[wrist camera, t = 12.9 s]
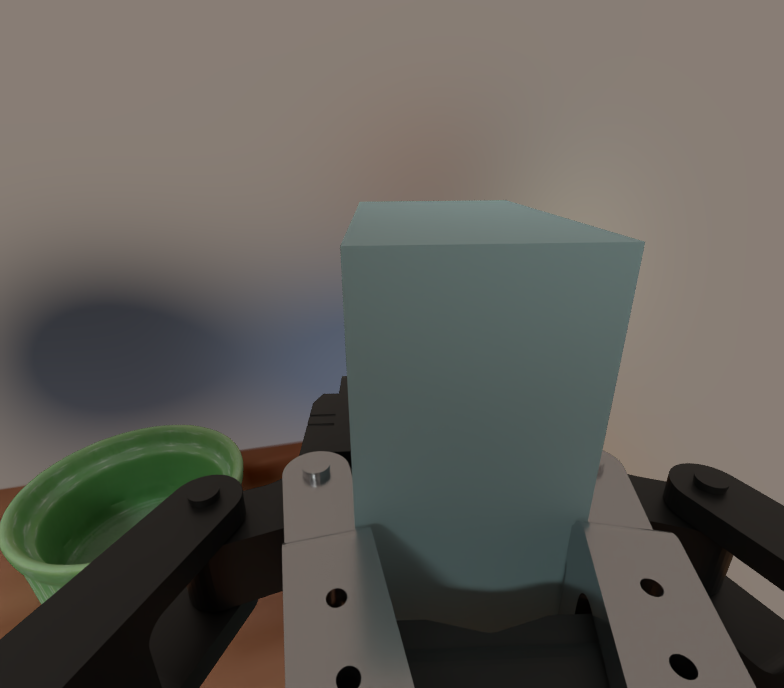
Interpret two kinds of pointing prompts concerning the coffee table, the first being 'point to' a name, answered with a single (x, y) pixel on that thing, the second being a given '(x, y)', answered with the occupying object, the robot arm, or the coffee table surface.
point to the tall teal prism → (479, 397)
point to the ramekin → (104, 497)
